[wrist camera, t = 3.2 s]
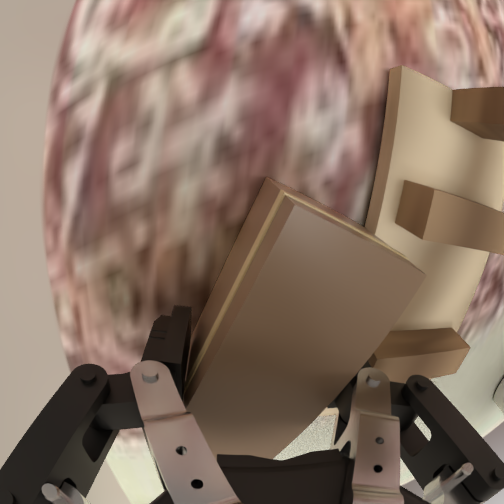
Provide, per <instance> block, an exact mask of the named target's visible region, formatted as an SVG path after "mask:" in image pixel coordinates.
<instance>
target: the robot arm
mask: <svg viewBox="0 0 504 504" xmlns="http://www.w3.org/2000/svg"><path fill="white" fill-rule="evenodd" d="M190 339H191V307H188V306H178V305H174V308H173V312H172V315H171V316H164V315H161V316H160V317H159V318H158V319H157V320H155V321H154V324H153V326H152V329H151V332H150V335H149V338H148V341H147V344H146V347H145V350H144V353H143V357H142V360H141V362H139V363H137V364H136V365H135V366H134V367H133V368H132V369H131V372H128V373H124V374H114V375H107V373H106V371H105V370H104V369H103V368H102V367H100V366H98V365H95V364H84V365H81V366H78V367H77V368H75V369H74V370H73V371H72V372H71V374H70V375H69V376H68V377H67V379H66V380H65V381H64V383H63V384H62V385H61V386H60V388H59V389H58V391H57V392H56V393H55V394H54V395H53V397H52V398H51V399H50V401H49V402H48V403H47V405H46V406H45V407H44V408H43V410H42V411H41V413H40V414H39V415H38V416H37V418H36V419H35V421H34V422H33V423H32V425H31V426H30V427H29V429H28V430H27V432H26V433H25V434H24V436H23V437H22V439H21V440H20V441H19V443H18V444H17V446H16V447H15V449H14V450H13V452H12V453H11V455H10V456H9V458H8V459H7V461H6V462H5V464H4V465H3V466H2V468H1V470H0V504H90V503H89V502H88V500H86V496H87V494H88V492H89V490H90V488H91V486H92V484H93V482H94V480H95V478H96V476H97V474H98V472H99V470H100V467H101V466H102V464H103V462H104V460H105V458H106V456H107V454H108V452H109V450H110V448H111V446H112V444H113V442H114V440H115V438H116V436H117V434H118V432H119V431H120V429H130V428H140V427H142V429H143V433H144V436H145V439H146V442H147V445H148V448H149V451H150V454H151V457H152V459H153V462H154V465H155V468H156V471H157V474H158V476H159V479H160V482H161V484H162V486H163V489H164V492H163V493H162V494H161V495H159V496H158V497H157V498H156V499H155V500H153V501H152V502H151V503H150V504H483V503H484V502H485V501H487V500H488V499H490V498H491V497H492V496H494V495H495V494H497V493H498V492H499V491H500V490H502V489H503V488H504V463H503V462H502V461H501V460H500V458H499V457H498V456H497V455H496V453H495V452H494V451H493V450H492V449H491V448H490V446H489V445H488V444H487V443H486V442H485V441H484V439H483V438H482V437H481V436H480V435H479V434H478V432H477V431H476V430H475V429H474V428H473V427H472V426H471V424H470V423H469V422H468V421H467V420H466V419H465V418H464V417H463V415H462V414H461V413H460V412H459V411H458V410H457V409H456V408H455V406H454V405H453V404H452V403H451V402H450V401H449V400H448V399H447V398H446V397H445V395H444V394H443V393H442V392H441V391H440V390H439V389H438V388H437V387H436V386H435V385H434V384H433V382H432V381H431V380H429V379H428V378H426V377H425V376H422V375H412V376H410V377H409V378H408V379H407V381H406V383H399V382H392V381H389V378H388V376H387V375H386V374H385V373H384V372H382V371H381V370H379V369H376V368H372V367H371V365H370V364H369V362H368V360H367V362H366V363H365V364H364V365H363V367H362V368H361V369H360V370H359V371H358V373H357V374H356V375H355V376H354V377H353V379H352V380H351V381H350V382H349V383H348V384H347V385H346V387H345V388H344V389H343V390H342V391H341V392H340V393H339V394H338V396H337V397H336V398H335V399H334V400H333V401H332V402H331V403H330V404H329V405H328V406H327V408H338V411H339V412H338V413H337V415H336V418H335V423H334V429H333V434H332V440H331V445H330V450H323V451H314V452H309V453H306V454H303V455H300V456H297V457H294V458H290V459H287V460H274V459H268V458H262V457H257V456H252V455H227V454H217V460H216V459H215V458H214V456H213V454H212V452H211V450H210V448H209V446H208V444H207V442H206V440H205V438H204V436H203V434H202V432H201V430H200V428H199V426H198V424H197V422H196V420H195V418H194V416H193V415H192V413H191V412H187V411H186V409H185V407H184V404H183V395H184V385H185V379H186V372H187V364H188V357H189V350H190ZM494 401H495V403H496V404H497V405H498V407H499V408H500V409H501V411H502V412H503V413H504V378H503V380H502V381H501V383H500V385H499V386H498V388H497V390H496V392H495V395H494ZM418 416H419V417H420V418H421V419H422V421H423V422H424V423H425V424H426V426H427V427H428V428H429V429H430V431H431V439H430V441H428V440H427V438H426V437H425V436H424V435H423V433H422V432H421V431H420V429H419V428H418V427H417V426H416V424H415V423H414V421H415V420H416V418H417V417H418ZM400 457H401V459H402V460H403V462H404V463H405V465H406V466H407V468H408V469H409V470H410V472H411V473H412V475H413V476H414V478H415V479H416V480H417V482H418V483H419V485H420V486H421V488H422V489H423V491H424V497H422V498H420V497H419V496H416V495H415V494H413V493H412V492H410V491H408V490H407V489H405V488H403V487H402V486H400Z"/></svg>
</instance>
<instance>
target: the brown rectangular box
mask: <svg viewBox="0 0 504 504" xmlns="http://www.w3.org/2000/svg"><path fill="white" fill-rule="evenodd" d="M426 276H427V275H426V274H425V273H424V272H422V271H421V270H420V269H419V268H417V267H416V266H415V265H414V264H412V263H411V262H410V261H409V258H407V257H406V256H405V255H403V254H402V253H401V252H399V251H397V250H396V249H394V248H392V247H390V246H389V245H388V244H386V243H385V242H384V241H382V240H381V239H380V238H378V237H377V236H376V235H374V234H373V233H372V232H370V231H369V230H367V229H366V228H365V227H363V226H362V225H360V224H359V223H357V222H355V221H353V220H351V219H350V218H348V217H346V216H344V215H342V214H340V213H338V212H336V211H335V210H333V209H331V208H329V207H327V206H325V205H323V204H321V203H319V202H317V201H315V200H313V199H311V198H309V197H307V196H306V195H304V194H302V193H300V192H297V191H295V190H293V189H291V188H289V187H287V186H285V185H283V184H281V183H279V182H277V181H275V180H273V179H271V178H268V177H266V179H265V181H264V183H263V185H262V187H261V189H260V191H259V193H258V195H257V197H256V199H255V201H254V203H253V205H252V208H251V210H250V212H249V214H248V216H247V218H246V220H245V222H244V224H243V226H242V228H241V230H240V233H239V235H238V237H237V239H236V241H235V243H234V245H233V247H232V249H231V251H230V254H229V256H228V258H227V260H226V262H225V264H224V266H223V268H222V271H221V273H220V275H219V277H218V279H217V281H216V283H215V286H214V288H213V290H212V292H211V294H210V296H209V299H208V301H207V303H206V305H205V307H204V309H203V312H202V314H201V316H200V318H199V320H198V323H197V325H196V327H195V329H194V331H193V334H192V336H191V339H190V350H189V357H188V364H187V372H186V379H185V385H184V395H183V404H184V407H185V409H186V411H187V412H191V413H192V415H193V416H194V418H195V420H196V422H197V424H198V426H199V428H200V430H201V432H202V434H203V436H204V438H205V440H206V442H207V444H208V446H209V448H210V450H211V452H212V454H213V456H214V458H215V459H216V460H217V454H227V455H252V456H257V457H262V458H268V459H273V458H274V457H275V456H276V455H278V454H279V453H280V452H281V451H282V450H283V449H284V448H285V447H287V446H288V445H289V444H290V443H291V442H292V441H293V440H294V439H295V438H296V437H297V436H298V435H299V434H301V433H302V432H303V431H304V430H305V429H306V428H307V427H308V426H309V425H310V424H311V423H312V422H313V421H314V420H315V419H316V418H317V417H318V416H319V415H320V414H321V413H322V412H323V411H324V410H325V408H326V407H327V406H328V405H329V404H330V403H331V402H332V401H333V400H334V399H335V398H336V397H337V396H338V394H339V393H340V392H341V391H342V390H343V389H344V388H345V387H346V385H347V384H348V383H349V382H350V381H351V380H352V379H353V377H354V376H355V375H356V374H357V373H358V371H359V370H360V369H361V368H362V367H363V365H364V364H365V363H366V362H367V360H368V359H369V358H370V357H371V355H372V354H373V353H374V352H375V350H376V349H377V348H378V346H379V345H380V344H381V342H382V341H383V340H384V338H385V337H386V336H387V334H388V333H389V332H390V330H391V329H392V328H393V326H394V325H395V323H396V322H397V321H398V319H399V318H400V316H401V315H402V313H403V312H404V310H405V309H406V307H407V306H408V304H409V303H410V301H411V300H412V298H413V297H414V295H415V294H416V292H417V291H418V289H419V287H420V286H421V284H422V283H423V281H424V279H425V278H426Z"/></svg>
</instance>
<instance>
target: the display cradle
mask: <svg viewBox="0 0 504 504" xmlns="http://www.w3.org/2000/svg"><path fill="white" fill-rule="evenodd" d="M503 200H504V87H486V88H470V89H457V90H452V89H450V88H448V87H446V86H444V85H442V84H441V83H439V82H437V81H435V80H433V79H431V78H429V77H427V76H425V75H423V74H421V73H418V72H416V71H414V70H412V69H410V68H407V67H405V66H403V65H401V66H398V67H395V68H392V69H390V73H389V85H388V95H387V104H386V112H385V120H384V128H383V135H382V141H381V148H380V154H379V160H378V165H377V171H376V176H375V182H374V187H373V192H372V197H371V201H370V206H369V210H368V215H367V219H366V224H365V228H366V229H367V230H369V231H370V232H372V233H373V234H374V235H376V236H377V237H378V238H380V239H381V240H382V241H384V242H385V243H386V244H388V245H389V246H390V247H392V248H394V249H396V250H397V251H399V252H401V253H402V254H403V255H405V256H406V257H407V258H409V261H410V262H411V263H412V264H414V265H415V266H416V267H417V268H419V269H420V270H421V271H422V272H424V273H425V274H426V275H427V276H426V278H425V279H424V281H423V283H422V284H421V286H420V287H419V289H418V291H417V292H416V294H415V295H414V297H413V298H412V300H411V301H410V303H409V304H408V306H407V307H406V309H405V310H404V312H403V313H402V315H401V316H400V318H399V319H398V321H397V322H396V323H395V325H394V326H393V328H392V329H391V330H390V332H389V333H388V334H387V336H386V337H385V338H384V340H383V341H382V342H381V344H380V345H379V346H378V348H377V349H376V350H375V352H374V353H373V354H372V355H371V357H370V358H369V359H368V362H369V364H370V365H371V367H372V368H376V369H379V370H381V371H382V372H384V373H385V374H386V375H387V376H388V378H389V381H392V382H399V383H406V381H407V379H408V378H409V377H410V376H412V375H422V376H425V377H426V378H428V379H429V380H431V379H432V378H435V377H440V376H445V375H449V374H454V373H456V372H457V370H458V368H459V367H460V365H461V363H462V362H463V360H464V358H465V357H466V355H467V353H468V351H469V349H470V348H471V347H470V346H469V345H468V344H467V343H466V342H465V341H464V340H463V339H462V338H461V337H460V336H459V335H458V334H457V332H458V329H459V327H460V325H461V323H462V321H463V319H464V317H465V315H466V312H467V310H468V308H469V306H470V303H471V301H472V299H473V296H474V294H475V291H476V289H477V286H478V284H479V281H480V278H481V276H482V273H483V270H484V267H485V265H486V262H487V259H488V256H489V252H492V253H497V254H501V255H504V213H503V212H501V209H502V204H503ZM338 412H339V411H338V408H327V407H326V408H325V410H324V411H323V412H322V413H321V414H320V415H319V416H328V415H337V413H338Z"/></svg>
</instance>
